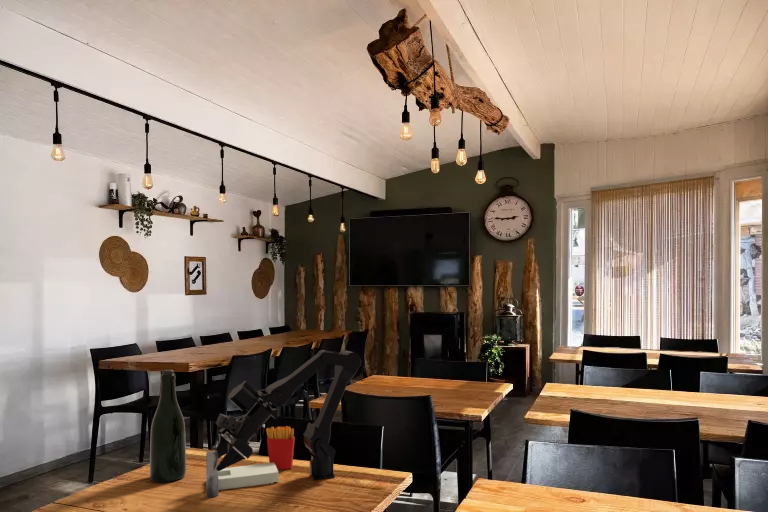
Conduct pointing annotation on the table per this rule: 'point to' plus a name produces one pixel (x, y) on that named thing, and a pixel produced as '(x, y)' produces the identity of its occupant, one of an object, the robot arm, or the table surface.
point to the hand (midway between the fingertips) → (214, 465)
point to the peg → (212, 474)
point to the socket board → (247, 476)
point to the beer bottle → (167, 435)
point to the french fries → (281, 446)
